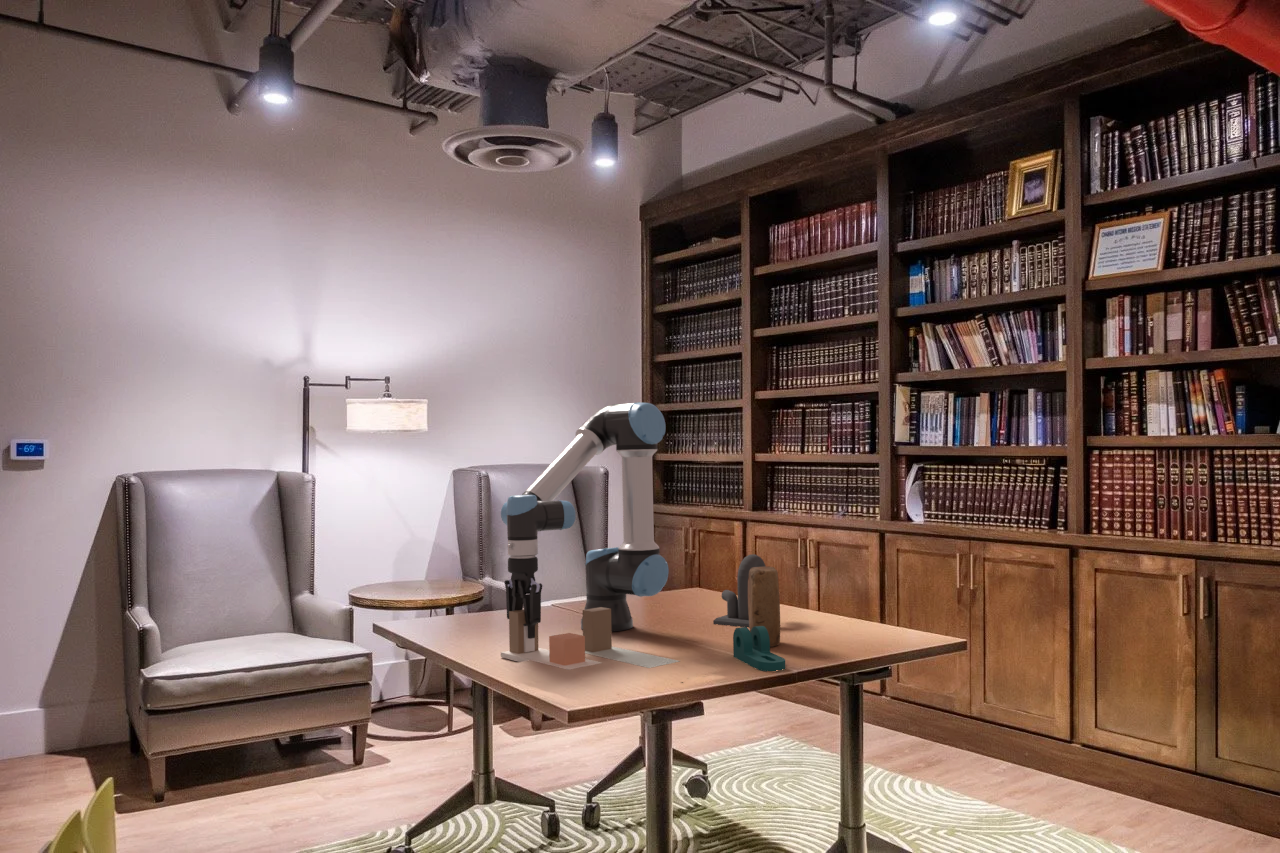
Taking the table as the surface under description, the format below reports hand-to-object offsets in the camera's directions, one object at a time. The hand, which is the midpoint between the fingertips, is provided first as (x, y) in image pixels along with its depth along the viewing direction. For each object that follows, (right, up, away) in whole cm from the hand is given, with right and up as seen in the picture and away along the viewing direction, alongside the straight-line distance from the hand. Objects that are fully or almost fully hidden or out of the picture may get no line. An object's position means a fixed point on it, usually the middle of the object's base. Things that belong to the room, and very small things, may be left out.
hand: (523, 649), depth 242 cm
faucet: (+62, -2, +43) cm, 76 cm away
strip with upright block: (+26, -1, -8) cm, 27 cm away
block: (+62, -1, +10) cm, 62 cm away
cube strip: (+7, -1, -8) cm, 11 cm away
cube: (+12, 0, -14) cm, 18 cm away
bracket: (+58, -1, -13) cm, 59 cm away
